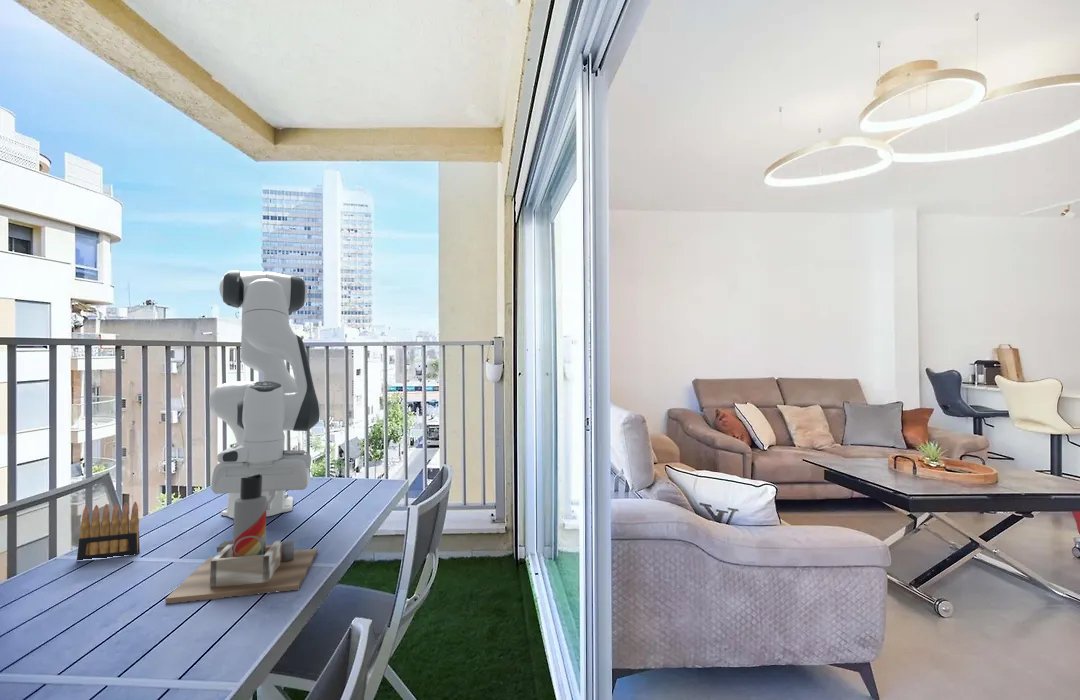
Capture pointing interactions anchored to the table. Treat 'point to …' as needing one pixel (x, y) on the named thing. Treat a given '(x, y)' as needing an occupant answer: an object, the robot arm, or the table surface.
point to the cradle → (243, 574)
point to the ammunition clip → (109, 533)
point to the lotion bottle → (250, 518)
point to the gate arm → (285, 550)
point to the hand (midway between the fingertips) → (261, 509)
